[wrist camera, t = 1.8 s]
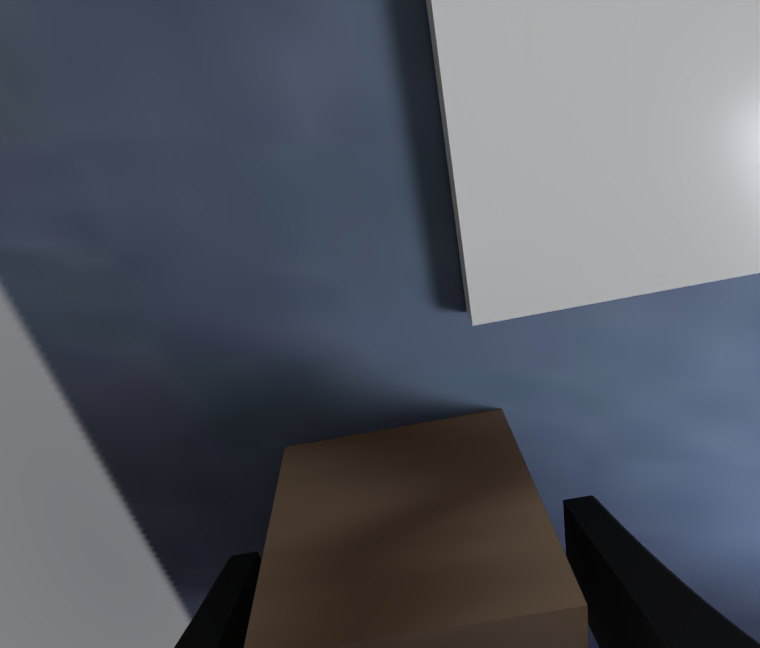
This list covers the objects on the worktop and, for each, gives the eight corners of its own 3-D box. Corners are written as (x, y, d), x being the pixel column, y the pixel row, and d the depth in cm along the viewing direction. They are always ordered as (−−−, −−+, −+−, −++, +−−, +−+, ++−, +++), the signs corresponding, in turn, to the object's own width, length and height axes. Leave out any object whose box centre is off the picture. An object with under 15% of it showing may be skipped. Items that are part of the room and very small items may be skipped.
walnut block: (500, 406, 12) (587, 605, 7) (518, 562, 14) (594, 792, 9) (285, 445, 12) (241, 660, 8) (333, 592, 14) (321, 831, 10)
